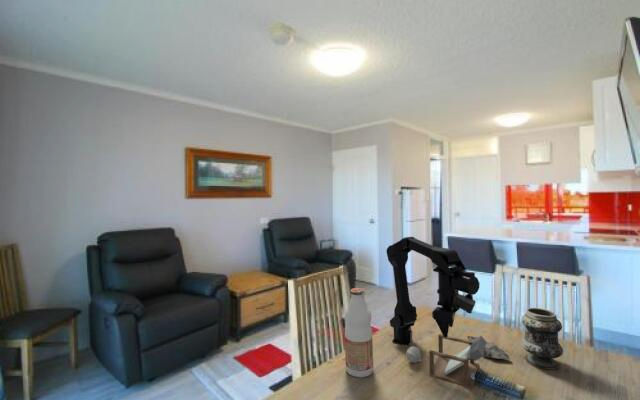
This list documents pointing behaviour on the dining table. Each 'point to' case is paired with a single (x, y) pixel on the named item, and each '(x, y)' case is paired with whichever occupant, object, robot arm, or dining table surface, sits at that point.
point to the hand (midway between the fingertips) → (448, 331)
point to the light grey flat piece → (468, 354)
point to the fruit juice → (358, 336)
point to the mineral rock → (492, 350)
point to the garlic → (413, 354)
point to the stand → (437, 370)
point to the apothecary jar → (541, 338)
